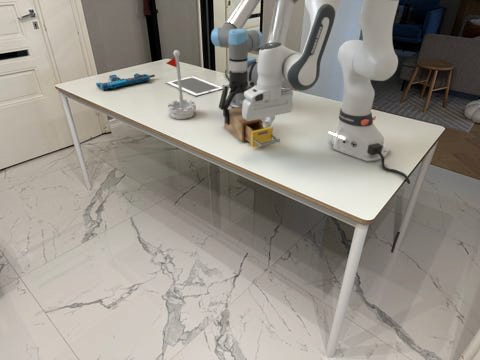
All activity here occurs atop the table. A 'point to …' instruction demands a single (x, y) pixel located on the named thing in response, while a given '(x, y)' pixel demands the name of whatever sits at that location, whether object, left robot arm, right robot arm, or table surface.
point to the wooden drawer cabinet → (238, 123)
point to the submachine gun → (123, 81)
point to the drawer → (259, 134)
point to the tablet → (195, 86)
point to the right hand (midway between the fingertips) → (267, 126)
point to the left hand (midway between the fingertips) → (238, 121)
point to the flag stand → (180, 95)
